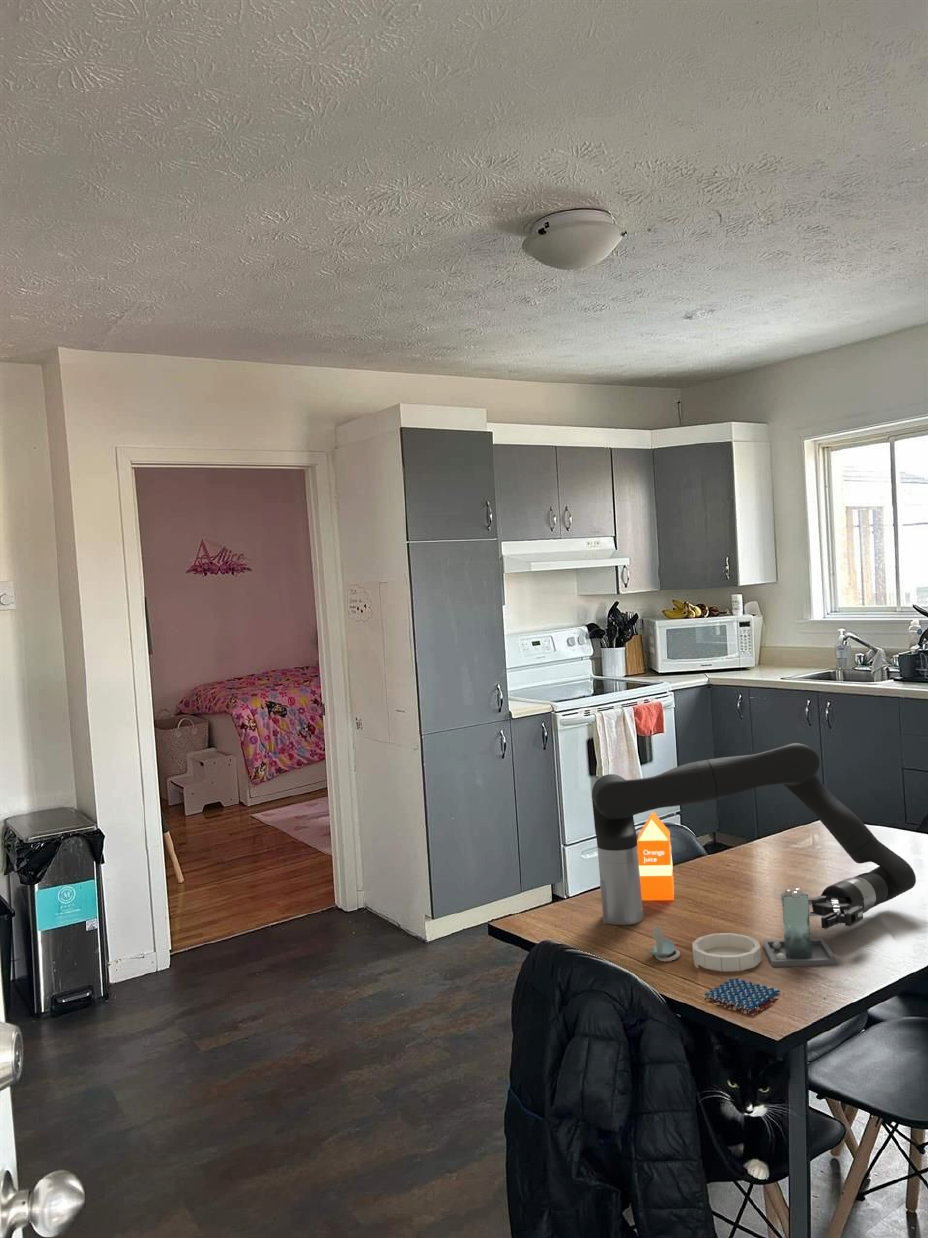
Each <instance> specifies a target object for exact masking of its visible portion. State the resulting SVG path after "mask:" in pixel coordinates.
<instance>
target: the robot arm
mask: <svg viewBox="0 0 928 1238" xmlns="http://www.w3.org/2000/svg"><path fill="white" fill-rule="evenodd" d="M820 766H821V763H820V758H819V755H818V753H817V752H816V751H815V750H814V749H813V748H812V747H810V746H809V745H807V744H803V743H797V742H795V743H788V744H786V745H783V746H780V747H777V748H773V749H770V750H765V751H762V752H759V753H755V754H747V755H735V756H727V757H726V756H725V757H717V758H716V757H715V758H710V759H703V760H698V761H697V760H696V761H692V762H689V763H684V764H681V765H679V766H676V767H673V768H671V769H669V770H667V771H665V772H663V773H660V774H657V775H655V776H650V777H648V776H647V777H644V778H643V777H642V778H634V779H625V778H624V777H623V776H620V775H618V774H613V773H610V774H609V773H608V774H605V775H602V776H601V777H599V778H598V779H597V780H596V781H595V783H594V784H593V787H592V790H591V799H592V800H591V801H592V812H593V814H592V815H593V821H594V822H593V823H594V832H595V833H594V834H595V837H596V846H597V857H598V871H599V885H600V888H599V889H600V899H601V908H602V909H601V910H602V920H603V924H605V925H606V924H610V925H616V926H630V925H635V924H639V923H640V922H641V921H643V920H644V907H643V900H642V892H641V880H640V870H639V856H638V844H637V841H638V835H637V830H636V825H635V820H634V816H635V815H639V814H641V813H646V812H649V811H654V810H656V809H662V808H670V807H671V808H672V807H679V806H685V805H692V804H700V803H706V802H710V801H716V800H721V799H725V798H728V797H732V796H736V795H739V794H741V793H745V792H747V791H751V790H753V789H757V788H759V787H764V786H771V785H781V784H782V785H783V786H784V787H785V788H786V789H788V790H789V791H790V792H791V793H792V794H794V796H796V797H797V798H798V799H799V800H800V801H801V802H802V803H803V804H804V805H805V806H806V807H807V808H808V809H809V810H810V812H812V813H813V814H814V816H816V818H817V819H818V821H820V822H821V823H822V825H823V826H824V827H825V829H827V831H829V833H830V834H831V835H832V836H833V838H834V839H835V840H836V841H837V843H838V844H839V845H840V846H841V848H842V849H843V850H844V851H845V852H846V853H847V855H848V856H849V857H850V858H851V859H852V860H853V861H854V862H855V863H856V864H865V863H874V864H875V865H877V867H875V868H874V869H872V870H870V871H868V872H864V873H863V872H862V873H860V874H857V875H855V876H854V877H849V878H845V879H843V880H841V881H838V882H836V883H833V884H831V885H829V886H827V887H826V888H825V889H824V890H822V893H821V895H818V896H816V897H809V894H808V893H806V894H807V898H808V910H809V917H817V916H818V917H821V919H820V923H821V928H822V929H826V930H827V929H829V928H831V927H833V926H841V925H842V924H844V926H845V927H851V926H852V927H853V926H854V925H855V924H857V923H859V922H860V921H863V920H864V914H865V913H866V912H868V911H869V910H870V909H872V908H874V907H876V906H879V905H880V904H883V903H886V902H888V901H891V900H892V899H895V898H896V897H898V896H899V895H902V894H904V893H906V892H908V891H910V890H912V888H914V887H915V885H916V882H917V876H916V874H915V871H914V870H913V868H912V866H911V865H910V864H909V863H908V862H907V861H906V860H905V859H904V858H902V857H901V856H899V855H898V854H897V853H896V852H894V851H893V850H891V849H890V848H889V847H887V846H886V845H885V844H883V843H882V842H881V841H880V840H879V839H877V836H875V835H874V833H872V832H871V830H870V829H869V828H868V827H867V826H866V825H865V823H864V822H863V821H862V820H861V819H860V818H859V817H858V816H857V815H856V814H855V813H854V812H853V811H852V810H851V809H850V808H849V807H847V806H846V805H845V804H843V803H842V802H841V801H840V800H839V799H838V798H836V797H835V795H833V794H832V792H830V790H829V789H827V787H826V786H825V785H824V784H823V783H822V781H821V780H820V778H819V777H818V776H817V775H818V771H819V770H820ZM810 906H811V907H812V911H810V910H811V909H810Z"/></svg>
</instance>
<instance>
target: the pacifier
mask: <svg viewBox="0 0 928 1238" xmlns="http://www.w3.org/2000/svg"><path fill="white" fill-rule="evenodd" d="M662 930H663V929H662V928H661V927H660V926H659V925H656V926H654V927H653V929H652V933H651V934H652V937H653V939H654V940H655V944H654V945H653V950H647V951H646V953H647V954H649V955H652V956H654V958H655V957H656V958H657V959H656V958H655V959H656V960H658V961H660V962H663V961H664V962H665V963H666V962H667V961H668V962H672V960H673V961H675V960H677V959H678V958H679V957H680V956H681V952H680V951H679V950H678V949H676V946H675V944H674V942H673V941H671V940H670V939H666V938H664V933H663V931H662ZM673 952H674V953H673ZM675 953H676V954H675ZM672 954H674V955H672ZM670 955H672V956H670ZM667 956H668V957H667ZM665 957H667V958H665Z"/></svg>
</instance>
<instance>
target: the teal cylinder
mask: <svg viewBox="0 0 928 1238" xmlns="http://www.w3.org/2000/svg"><path fill="white" fill-rule="evenodd" d="M807 894H808V893H806V892H803V890H801V888H797V887H796V888H794V889H793V890H792V889H786V890H784V892H783V893H781V894H780V900H781V901H780V902H781V914H782V927H783V939H784V941H785V954H786V956H787V957H788V958H791V959H809V958H811V957H812V948H811V939H812V937H811V926H810V925H811V924H810V916H809V910H808V898H809V897H808V898H807Z"/></svg>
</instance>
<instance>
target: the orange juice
mask: <svg viewBox="0 0 928 1238" xmlns="http://www.w3.org/2000/svg"><path fill="white" fill-rule="evenodd" d="M651 811H652V812H651V814H650V815H649V817H648V819H647V820H646V822H645V823H644V825H643V827H642V829H641V830H640V831H639V832H638V835H637V846H638V858H639V870H640V882H641V894H642V901H674V897H675V895H674V894H675V882H674V881H675V880H674V870H673V869H674V868H673V857H672V856H673V855H672V854H673V853H672V844H671V832H670V830H669V828H667V826H666V825H665V824H664V823H663V822H662V821H661V819H660V818H659V817H658V815H657V814H656V813H655V812H654V810H651Z"/></svg>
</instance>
